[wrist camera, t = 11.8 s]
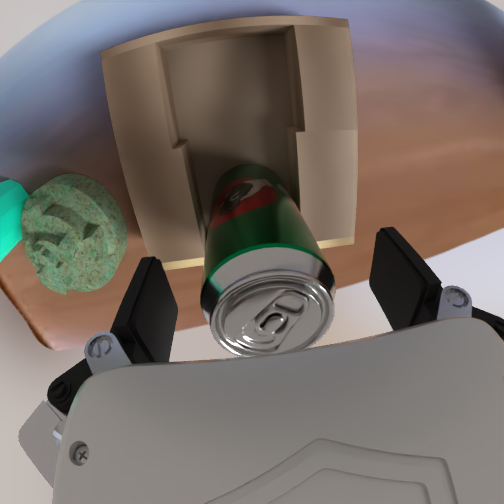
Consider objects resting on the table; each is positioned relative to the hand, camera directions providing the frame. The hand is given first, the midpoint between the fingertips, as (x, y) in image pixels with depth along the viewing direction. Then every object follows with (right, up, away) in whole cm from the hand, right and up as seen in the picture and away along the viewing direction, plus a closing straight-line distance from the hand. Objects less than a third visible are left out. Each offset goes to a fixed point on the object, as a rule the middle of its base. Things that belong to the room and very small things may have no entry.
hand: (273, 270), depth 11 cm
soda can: (-1, +5, +8) cm, 9 cm away
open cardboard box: (-2, +9, +6) cm, 11 cm away
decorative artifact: (-16, +3, +9) cm, 19 cm away
